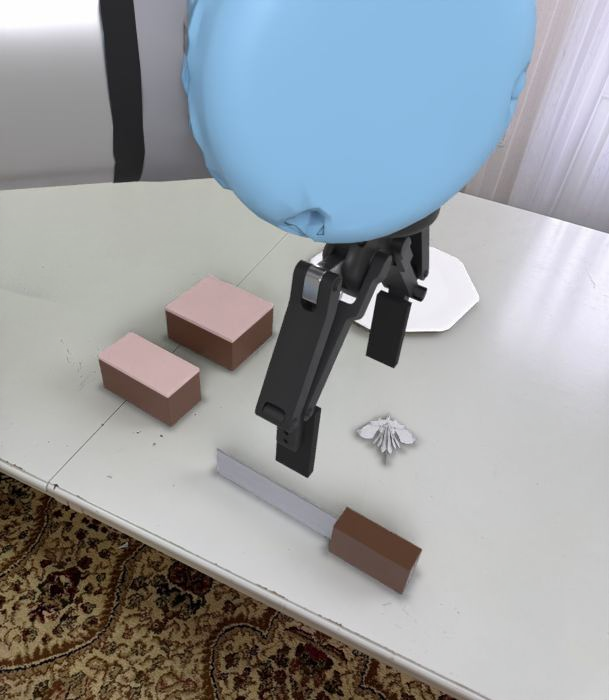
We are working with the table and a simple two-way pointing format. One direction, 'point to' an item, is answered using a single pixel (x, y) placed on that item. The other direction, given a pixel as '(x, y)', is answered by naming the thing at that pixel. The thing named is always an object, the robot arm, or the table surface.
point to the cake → (219, 321)
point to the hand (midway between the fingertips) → (341, 408)
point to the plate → (431, 295)
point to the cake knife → (334, 527)
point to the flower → (383, 426)
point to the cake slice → (150, 378)
